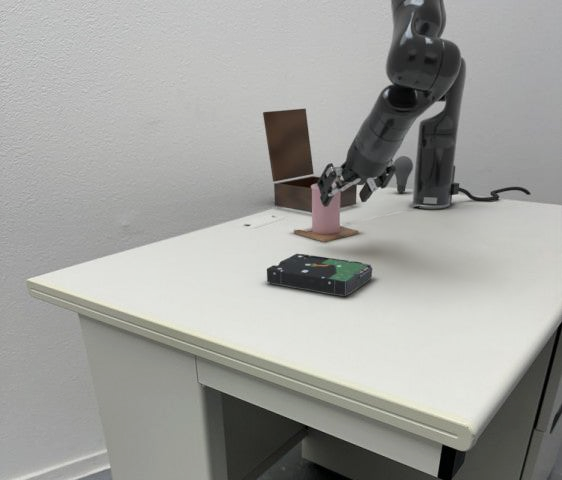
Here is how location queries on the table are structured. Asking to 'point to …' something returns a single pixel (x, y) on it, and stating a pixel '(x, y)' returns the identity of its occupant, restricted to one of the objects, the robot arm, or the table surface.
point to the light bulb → (402, 172)
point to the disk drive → (320, 274)
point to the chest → (306, 194)
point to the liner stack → (325, 213)
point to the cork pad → (327, 237)
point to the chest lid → (288, 143)
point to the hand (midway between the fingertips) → (343, 200)
